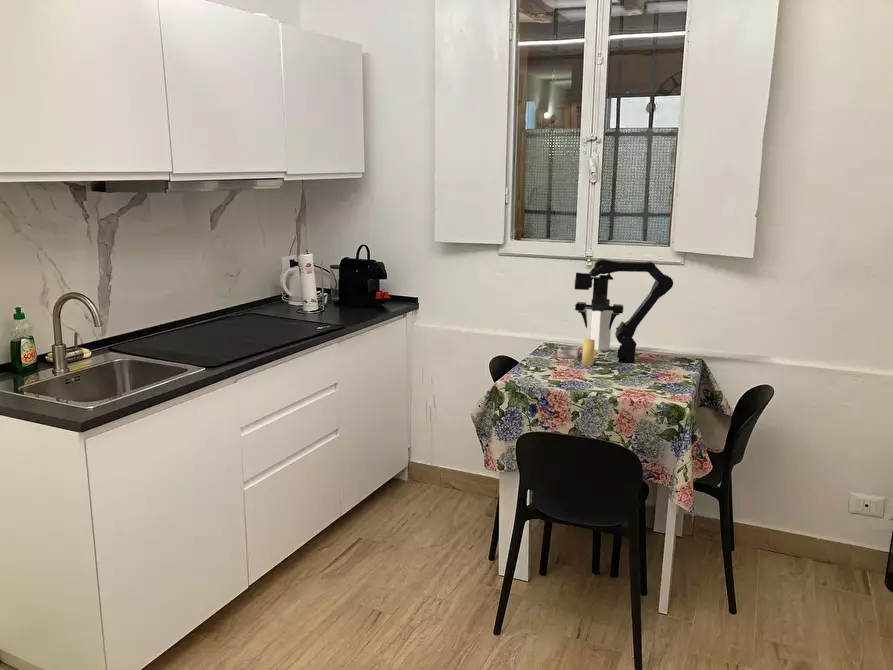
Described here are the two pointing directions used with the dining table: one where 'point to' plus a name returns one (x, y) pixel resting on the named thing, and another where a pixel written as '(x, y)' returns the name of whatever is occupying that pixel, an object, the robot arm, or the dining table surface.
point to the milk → (601, 329)
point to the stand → (568, 353)
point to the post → (588, 352)
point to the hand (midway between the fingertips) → (597, 328)
